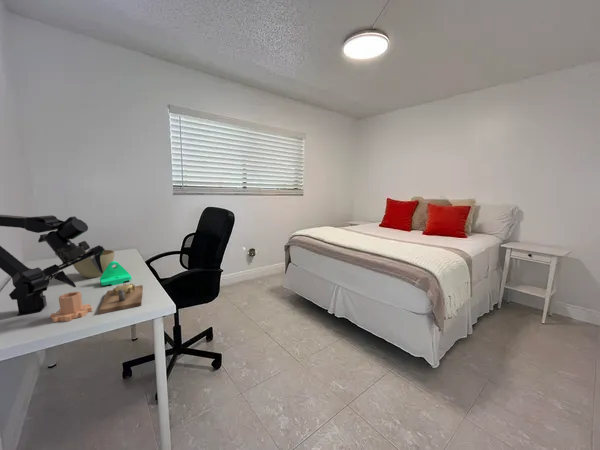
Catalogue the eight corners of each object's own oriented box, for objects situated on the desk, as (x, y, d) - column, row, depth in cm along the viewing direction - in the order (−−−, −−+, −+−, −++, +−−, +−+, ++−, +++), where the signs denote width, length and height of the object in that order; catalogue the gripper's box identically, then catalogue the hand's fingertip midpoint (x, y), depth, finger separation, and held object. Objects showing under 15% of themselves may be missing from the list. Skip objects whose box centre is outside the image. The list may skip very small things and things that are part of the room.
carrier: (99, 313, 92) (97, 298, 91) (108, 294, 110) (106, 280, 109) (141, 305, 98) (139, 291, 97) (142, 288, 116) (141, 275, 115)
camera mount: (102, 288, 117) (99, 266, 116) (100, 283, 123) (97, 263, 121) (132, 281, 125) (130, 261, 124) (129, 277, 131) (127, 258, 130)
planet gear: (46, 325, 84) (43, 304, 83) (56, 311, 93) (54, 292, 92) (88, 316, 90) (86, 297, 89) (94, 304, 99) (92, 286, 98)
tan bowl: (98, 281, 125) (95, 257, 124) (63, 281, 126) (60, 257, 124) (124, 270, 143) (122, 249, 142) (93, 270, 144) (90, 249, 142)
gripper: (32, 251, 80) (64, 290, 83) (95, 227, 95) (121, 261, 98) (28, 261, 86) (58, 297, 89) (88, 237, 102) (112, 268, 104)
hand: (89, 279), depth 95 cm, fingers open, 9 cm apart
